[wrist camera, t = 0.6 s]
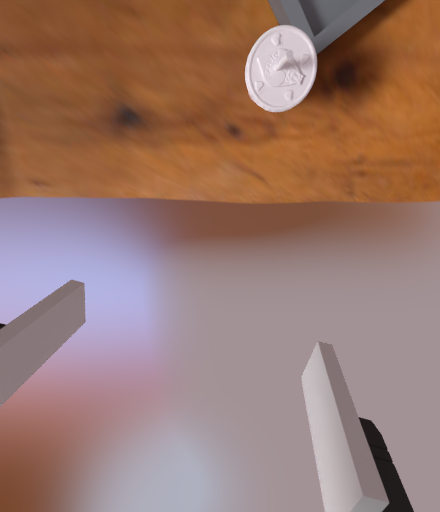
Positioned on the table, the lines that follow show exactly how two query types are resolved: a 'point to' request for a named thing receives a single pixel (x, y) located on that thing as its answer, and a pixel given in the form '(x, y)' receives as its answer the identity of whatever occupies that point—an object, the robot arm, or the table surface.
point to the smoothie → (281, 68)
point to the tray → (322, 17)
